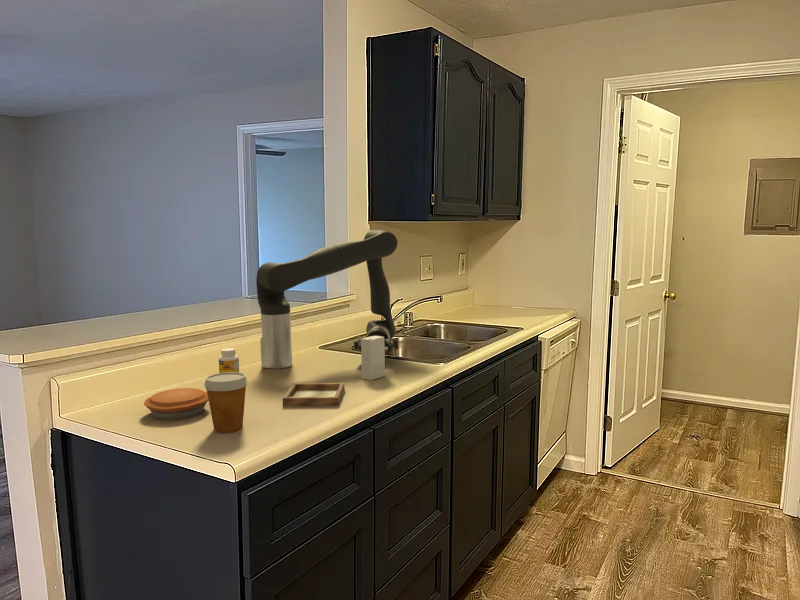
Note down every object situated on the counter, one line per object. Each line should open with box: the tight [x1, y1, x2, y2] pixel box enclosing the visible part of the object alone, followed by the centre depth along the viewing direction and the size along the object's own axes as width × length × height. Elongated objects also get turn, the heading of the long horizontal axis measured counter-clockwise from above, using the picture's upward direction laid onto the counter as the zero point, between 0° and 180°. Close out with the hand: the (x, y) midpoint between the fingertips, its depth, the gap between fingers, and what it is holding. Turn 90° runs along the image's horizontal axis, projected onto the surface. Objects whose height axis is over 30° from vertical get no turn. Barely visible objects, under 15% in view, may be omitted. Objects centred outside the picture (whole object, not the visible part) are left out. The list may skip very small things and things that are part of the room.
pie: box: [143, 387, 209, 421], centre depth 153 cm, size 15×16×5 cm
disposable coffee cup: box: [203, 371, 249, 434], centre depth 140 cm, size 10×10×12 cm
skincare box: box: [360, 336, 386, 381], centre depth 183 cm, size 6×4×12 cm
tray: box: [282, 382, 345, 408], centre depth 163 cm, size 14×14×2 cm
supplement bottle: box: [218, 347, 240, 373], centre depth 178 cm, size 6×6×10 cm
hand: (375, 348), depth 193 cm, fingers open, 8 cm apart
